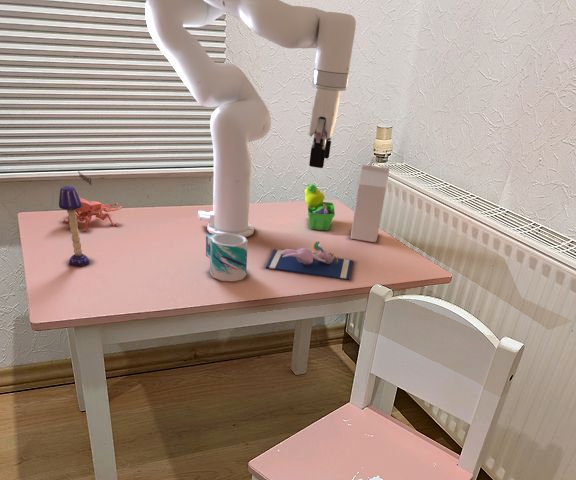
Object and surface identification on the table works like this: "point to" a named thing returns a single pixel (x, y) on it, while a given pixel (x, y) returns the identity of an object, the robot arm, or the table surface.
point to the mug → (227, 256)
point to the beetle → (92, 210)
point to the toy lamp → (73, 222)
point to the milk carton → (369, 203)
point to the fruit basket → (318, 209)
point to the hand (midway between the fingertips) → (319, 162)
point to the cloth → (311, 266)
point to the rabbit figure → (310, 255)
